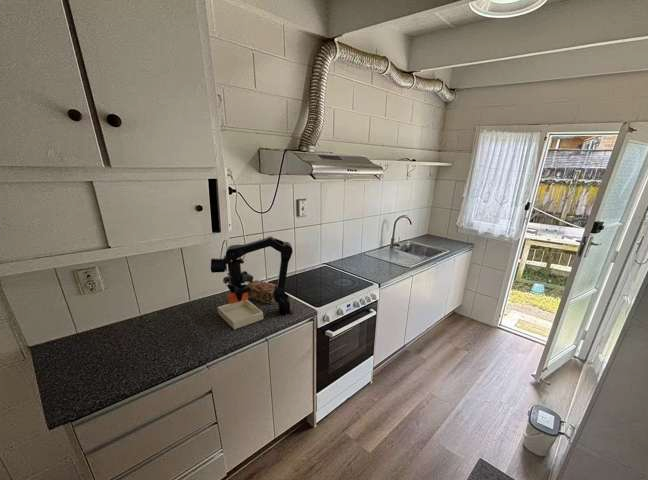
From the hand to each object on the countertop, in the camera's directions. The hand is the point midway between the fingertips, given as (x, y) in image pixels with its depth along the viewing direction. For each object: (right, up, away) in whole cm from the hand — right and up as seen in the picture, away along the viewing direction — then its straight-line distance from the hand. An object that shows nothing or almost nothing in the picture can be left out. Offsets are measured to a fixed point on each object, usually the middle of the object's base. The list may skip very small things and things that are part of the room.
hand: (238, 299), depth 153 cm
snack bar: (0, 0, 0) cm, 0 cm away
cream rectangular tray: (0, -10, +3) cm, 10 cm away
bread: (+6, -1, +24) cm, 25 cm away
